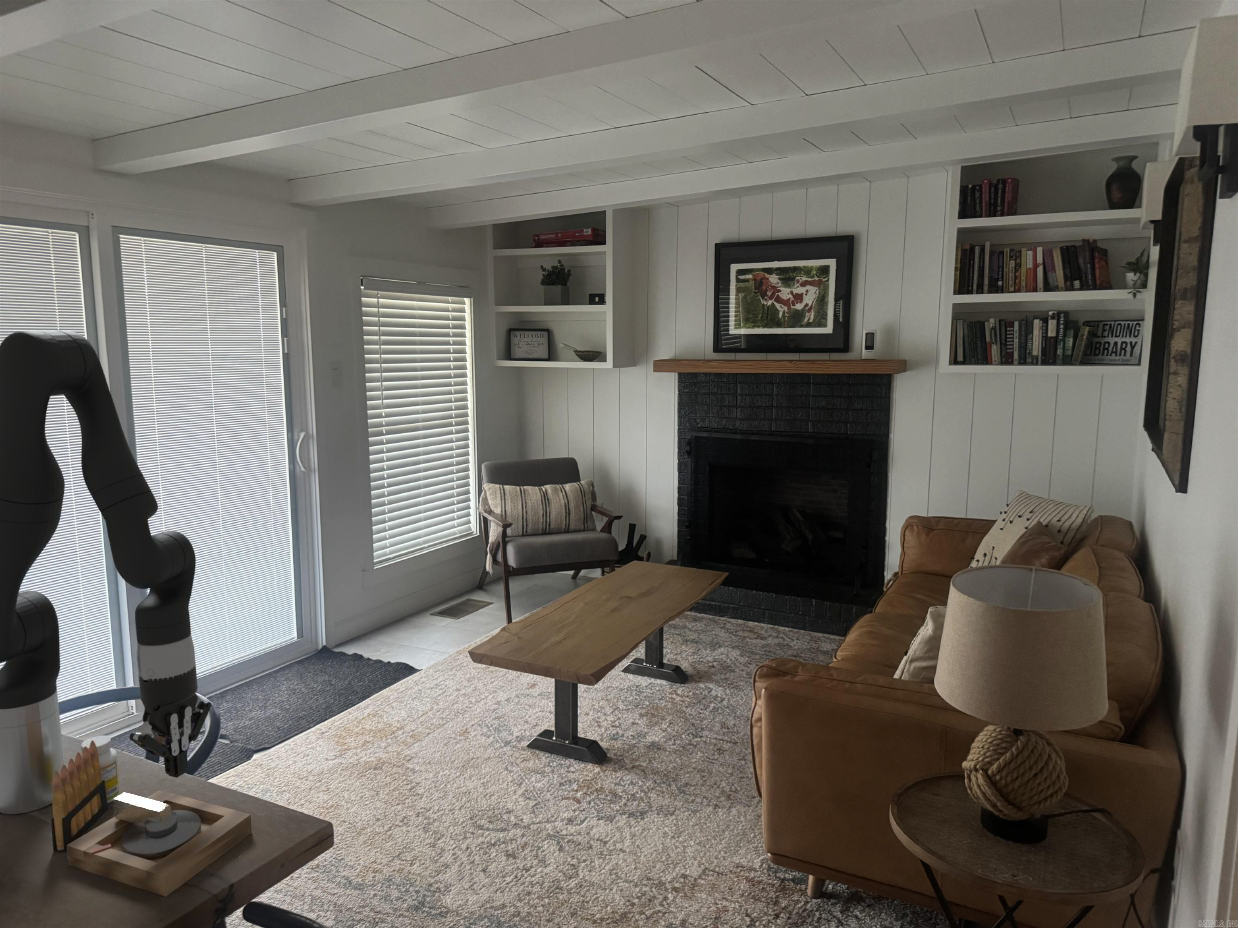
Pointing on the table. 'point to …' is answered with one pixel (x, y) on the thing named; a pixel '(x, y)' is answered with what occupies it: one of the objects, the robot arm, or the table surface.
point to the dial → (154, 826)
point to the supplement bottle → (107, 764)
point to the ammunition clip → (77, 798)
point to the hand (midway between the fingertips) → (177, 774)
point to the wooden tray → (165, 873)
